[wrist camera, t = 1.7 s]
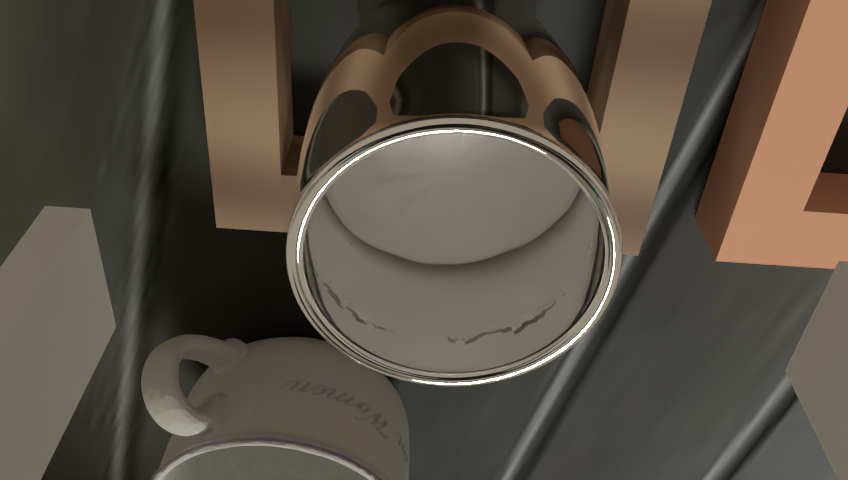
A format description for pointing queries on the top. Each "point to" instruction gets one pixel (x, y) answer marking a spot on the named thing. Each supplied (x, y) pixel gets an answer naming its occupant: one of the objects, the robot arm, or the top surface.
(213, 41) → the walnut holder
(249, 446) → the teacup
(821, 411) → the robot arm
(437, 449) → the top surface
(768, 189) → the terracotta holder
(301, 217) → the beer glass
